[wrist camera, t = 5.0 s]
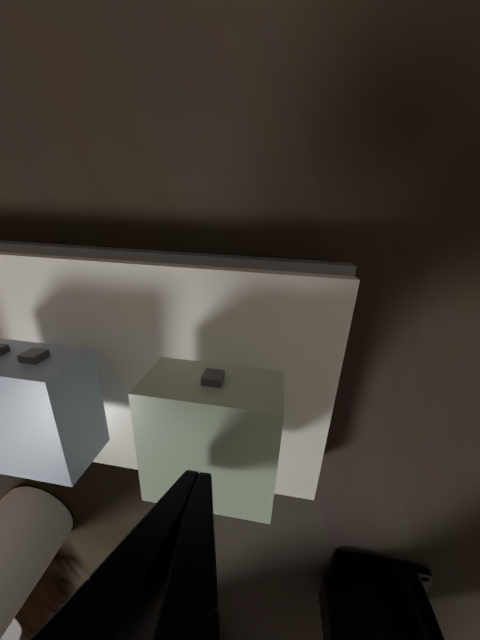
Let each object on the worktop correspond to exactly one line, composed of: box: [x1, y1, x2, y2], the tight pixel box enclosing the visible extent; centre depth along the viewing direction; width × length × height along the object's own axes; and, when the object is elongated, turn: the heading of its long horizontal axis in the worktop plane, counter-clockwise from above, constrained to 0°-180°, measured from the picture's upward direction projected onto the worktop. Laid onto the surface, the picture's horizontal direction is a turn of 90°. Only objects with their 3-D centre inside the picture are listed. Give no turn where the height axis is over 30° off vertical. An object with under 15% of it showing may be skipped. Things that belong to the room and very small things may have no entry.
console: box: [0, 240, 360, 500], centre depth 15 cm, size 26×12×2 cm, turn 87°
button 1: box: [128, 357, 284, 524], centre depth 10 cm, size 5×5×2 cm
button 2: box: [0, 338, 110, 487], centre depth 11 cm, size 5×5×2 cm
